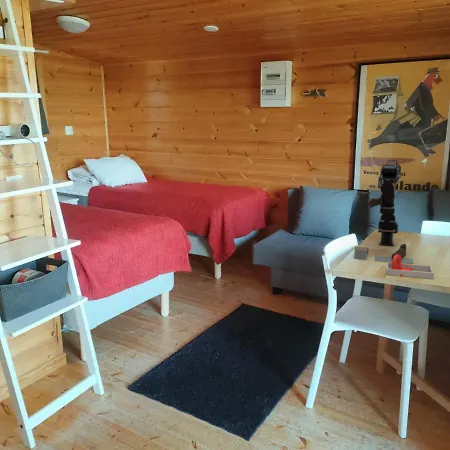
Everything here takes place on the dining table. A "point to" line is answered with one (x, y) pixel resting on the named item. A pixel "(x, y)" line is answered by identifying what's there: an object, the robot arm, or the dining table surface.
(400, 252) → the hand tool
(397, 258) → the bracket
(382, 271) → the dining table surface
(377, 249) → the dining table surface
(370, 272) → the dining table surface
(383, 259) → the mat
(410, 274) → the parts frame
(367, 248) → the key
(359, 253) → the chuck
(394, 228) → the robot arm
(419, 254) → the dining table surface
